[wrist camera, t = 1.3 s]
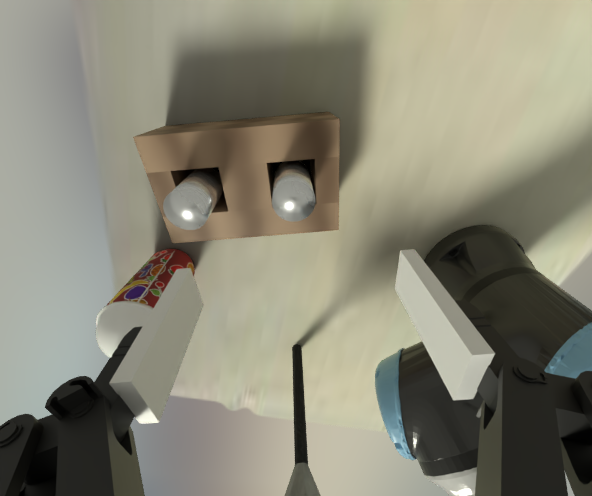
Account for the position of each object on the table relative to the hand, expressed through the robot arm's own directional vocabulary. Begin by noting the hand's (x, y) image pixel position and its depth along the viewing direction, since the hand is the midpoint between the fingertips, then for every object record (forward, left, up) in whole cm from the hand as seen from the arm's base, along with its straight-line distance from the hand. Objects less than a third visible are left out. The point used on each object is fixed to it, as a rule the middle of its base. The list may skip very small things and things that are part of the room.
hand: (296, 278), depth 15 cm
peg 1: (+10, 0, -19) cm, 22 cm away
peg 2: (0, 0, -19) cm, 19 cm away
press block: (+5, 0, -24) cm, 25 cm away
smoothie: (+20, +14, -24) cm, 34 cm away
